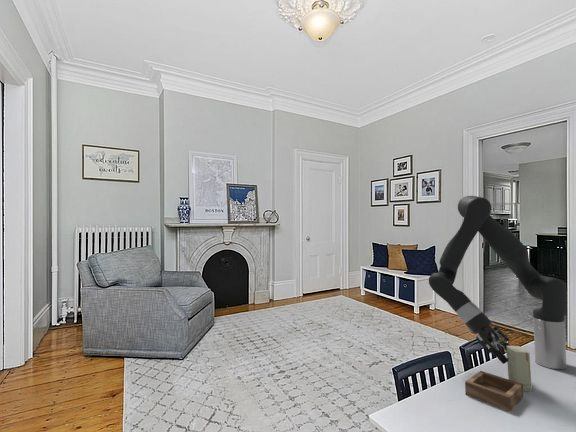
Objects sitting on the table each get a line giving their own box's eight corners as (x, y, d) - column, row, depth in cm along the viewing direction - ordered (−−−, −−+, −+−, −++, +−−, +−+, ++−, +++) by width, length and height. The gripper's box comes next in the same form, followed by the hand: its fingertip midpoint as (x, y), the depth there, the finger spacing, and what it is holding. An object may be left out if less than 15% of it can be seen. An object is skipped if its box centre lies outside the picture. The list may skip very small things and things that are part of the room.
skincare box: (532, 391, 100) (530, 353, 101) (517, 390, 101) (515, 352, 102) (521, 382, 107) (520, 345, 107) (507, 381, 107) (505, 345, 108)
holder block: (481, 382, 107) (480, 370, 107) (523, 397, 97) (522, 384, 97) (465, 394, 99) (465, 381, 100) (509, 411, 90) (509, 397, 90)
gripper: (472, 315, 109) (512, 359, 100) (488, 308, 118) (526, 348, 108) (457, 326, 113) (494, 370, 104) (473, 319, 122) (509, 358, 112)
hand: (510, 358), depth 106 cm, fingers open, 8 cm apart
